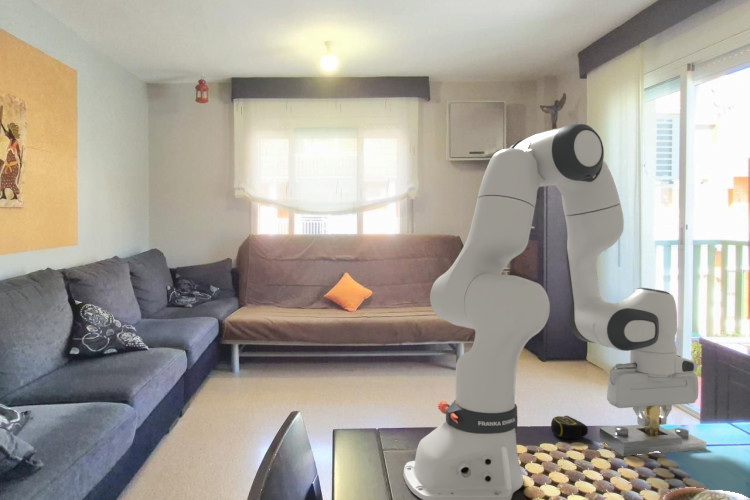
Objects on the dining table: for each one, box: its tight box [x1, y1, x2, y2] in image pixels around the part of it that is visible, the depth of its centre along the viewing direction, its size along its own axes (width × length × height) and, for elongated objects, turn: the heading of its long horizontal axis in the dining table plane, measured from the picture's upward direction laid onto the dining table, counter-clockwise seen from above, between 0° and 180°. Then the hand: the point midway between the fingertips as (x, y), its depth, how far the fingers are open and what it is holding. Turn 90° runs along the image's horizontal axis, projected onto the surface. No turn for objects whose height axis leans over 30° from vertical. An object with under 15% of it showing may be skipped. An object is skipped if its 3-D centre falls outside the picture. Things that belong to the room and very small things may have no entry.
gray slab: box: [599, 424, 707, 457], centre depth 110 cm, size 20×8×4 cm, turn 101°
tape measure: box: [550, 415, 589, 440], centre depth 116 cm, size 7×7×4 cm
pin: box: [643, 405, 661, 436], centre depth 110 cm, size 3×3×10 cm
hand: (651, 424), depth 110 cm, fingers closed on pin, 3 cm apart
